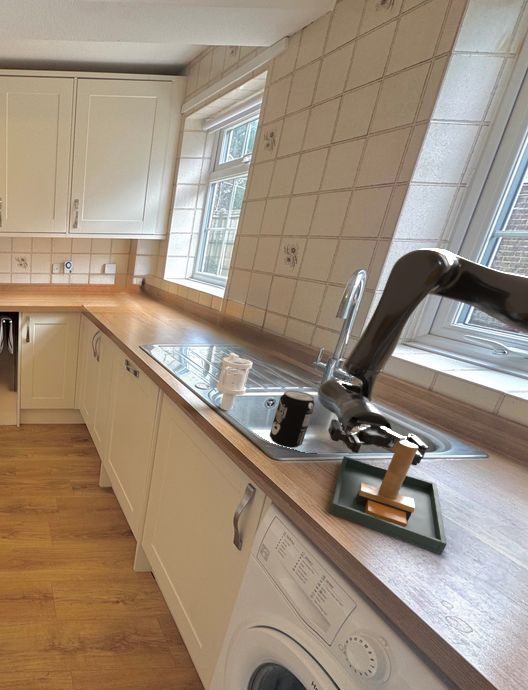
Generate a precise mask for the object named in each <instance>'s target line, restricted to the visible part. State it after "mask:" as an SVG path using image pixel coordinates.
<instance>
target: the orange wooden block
mask: <svg viewBox="0 0 528 690" xmlns="http://www.w3.org/2000/svg"><path fill="white" fill-rule="evenodd" d="M365 513H366V514H369V515H372V516H374V517H377V518H380V519H383V520H385V521H388V522H391V523H394V524H397V525H399V526H402V527H406V525H407V520H406V512H403V511H400V510H397V509H394V508H391V507H388V506H385V505H382V504H379V503H376V502H373V501H370V500H368V501H367V504H366V506H365Z"/></svg>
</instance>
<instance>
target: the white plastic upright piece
mask: <svg viewBox="0 0 528 690" xmlns="http://www.w3.org/2000/svg"><path fill="white" fill-rule="evenodd" d="M221 364H222V367H221V371H220V374H219V375H220V376H219V380H218V381H217V383H216V389H217V390H218V391H220V392H222V397H221V401H220V406H219V408H220V409H221V410H224V411H229V412H231V411H232V410H233V407H234V404H235V401H236V397H237V396H242V395H245V394H246V390H247V388H246V385H247V381H248V377H249V373H250V370H251V369H252V368H253V364H254V362H253V361H252V360H249V359H246V358H241V357H240V356H239V355H238V354H236V353H234V352H229V354H228V356H225V357H223V358H222V362H221ZM243 370H244V371H243Z"/></svg>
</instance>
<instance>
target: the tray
mask: <svg viewBox="0 0 528 690" xmlns="http://www.w3.org/2000/svg"><path fill="white" fill-rule="evenodd" d="M387 470H388V468H386V467H382V466H378V465H375V464H372V463H369V462H365V461H362V460H359V459H356V458H352V457H349V456H345V455H344V456H343V457H342V460H341V463H340V466H339V470H338V474H337V478H336V483H335V486H334V490H333V495H332V499H331V503H330V507H329V511H328V513H329V514H331V515H333V516H336V517H339V518H341V519H344V520H347V521H349V522H352V523H355V524H358V525H361V526H363V527H366V528H368V529H371V530H373V531H375V532H376V531H377V532H379V533H382V534H384V535H386V536H389V537H392V538H395V539H398V540H400V541H403V542H405V543H409V544H411V545H414V546H416V547H418V548H422V549H424V550H427V551H430V552H432V553H435V554H437V555H440V556H441V555H442V554H443V553H444V550H445V548H446V547H447V545H448V544H447V538H446V533H445V527H444V521H443V516H442V509H441V503H440V497H439V492H438V486H437V483H435V482H432V481H429V480H425V479H422V478H419V477H415V476H412V475H409V474H406V477H405V479H404V481H403V483H402V486H401V488H400V490H399V492H398V494H399V495H402V496H406V497H409V498H412V499H414V504H415V510H414V512H413V513H411V516H410V518H409V520H408V521H407V525H406V527H402V526H399V525H397V524H394V523H391V522H388V521H385V520H383V519H380V518H377V517H374V516H372V515H369V514H366V513H365V506H363V505H360V504H357V503H356V501H357V494H358V492H359V488H360V484H361V483H364V484H368V485H371V486H374V487H377V488H380V486H381V484H382V481H383V479H384V477H385V474H386V472H387Z"/></svg>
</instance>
